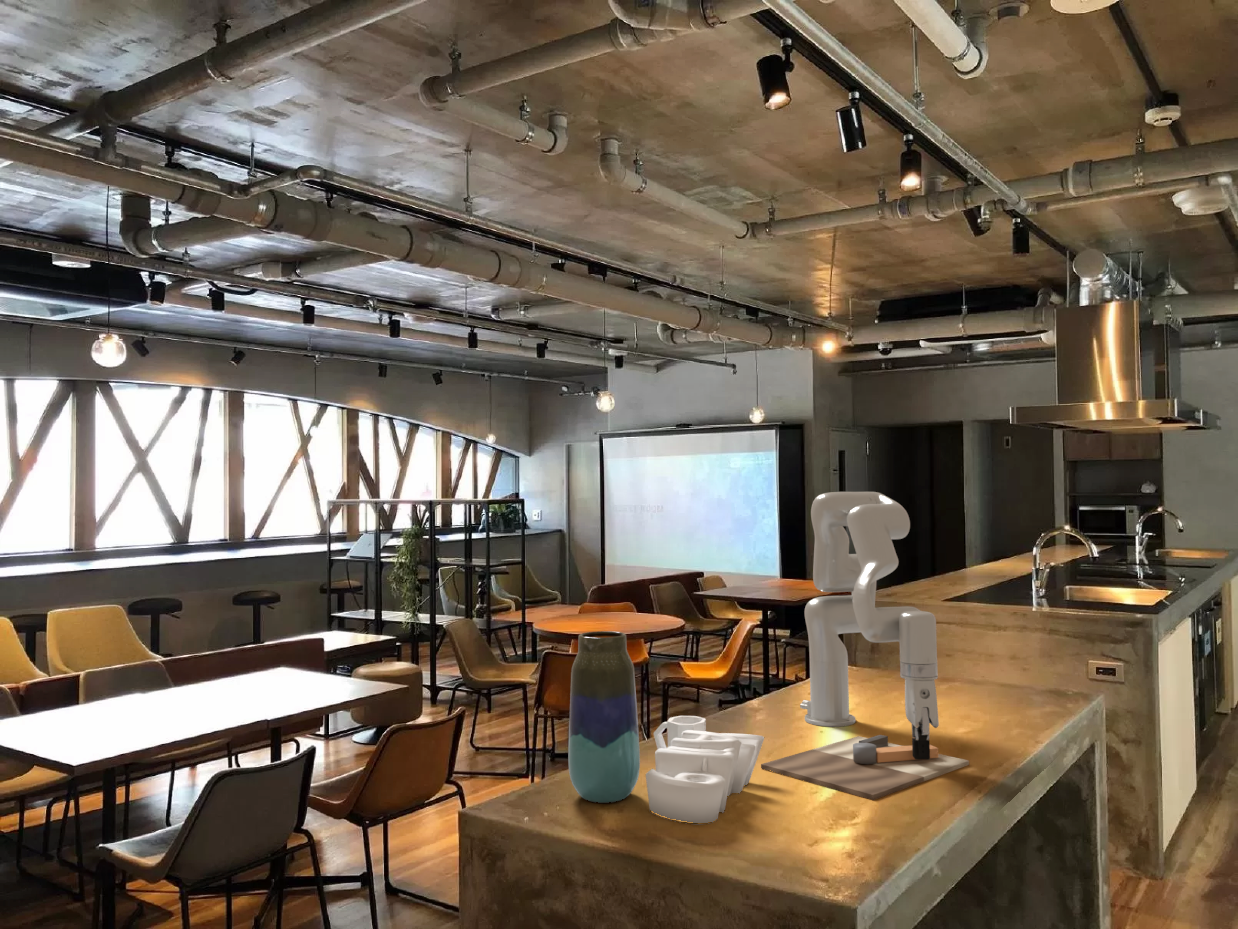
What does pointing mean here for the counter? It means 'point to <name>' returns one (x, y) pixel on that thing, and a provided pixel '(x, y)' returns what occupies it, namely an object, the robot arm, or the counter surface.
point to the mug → (678, 728)
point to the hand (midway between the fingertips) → (921, 758)
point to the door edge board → (861, 768)
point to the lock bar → (885, 753)
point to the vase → (603, 719)
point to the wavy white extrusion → (701, 774)
